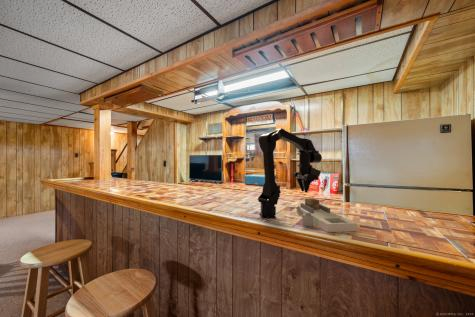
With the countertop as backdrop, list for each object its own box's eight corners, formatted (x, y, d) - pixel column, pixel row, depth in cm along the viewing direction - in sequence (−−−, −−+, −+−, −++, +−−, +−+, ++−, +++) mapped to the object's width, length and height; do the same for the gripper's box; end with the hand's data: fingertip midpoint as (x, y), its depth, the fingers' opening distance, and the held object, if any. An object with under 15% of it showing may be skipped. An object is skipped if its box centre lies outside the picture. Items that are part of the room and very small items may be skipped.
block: (309, 210, 99) (309, 200, 99) (304, 207, 104) (305, 198, 104) (319, 209, 99) (319, 200, 99) (314, 207, 104) (314, 198, 104)
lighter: (313, 225, 85) (313, 206, 85) (313, 226, 84) (313, 207, 84) (295, 223, 88) (295, 204, 88) (295, 224, 86) (295, 205, 86)
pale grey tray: (327, 232, 77) (327, 219, 77) (296, 212, 105) (296, 202, 105) (356, 230, 79) (356, 218, 79) (318, 211, 107) (318, 202, 107)
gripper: (328, 163, 102) (328, 194, 102) (310, 162, 120) (310, 189, 120) (307, 163, 100) (307, 195, 100) (292, 162, 119) (292, 189, 119)
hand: (304, 191), depth 110 cm, fingers open, 4 cm apart
